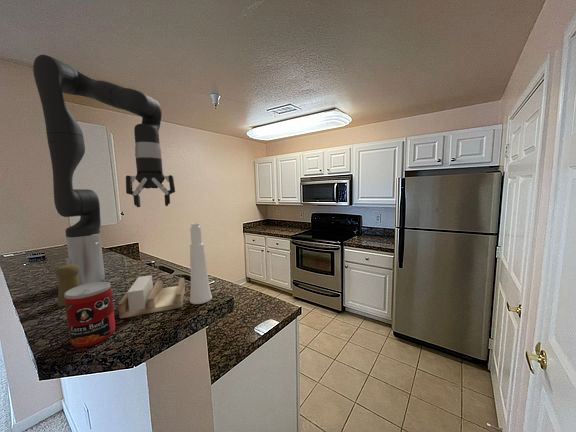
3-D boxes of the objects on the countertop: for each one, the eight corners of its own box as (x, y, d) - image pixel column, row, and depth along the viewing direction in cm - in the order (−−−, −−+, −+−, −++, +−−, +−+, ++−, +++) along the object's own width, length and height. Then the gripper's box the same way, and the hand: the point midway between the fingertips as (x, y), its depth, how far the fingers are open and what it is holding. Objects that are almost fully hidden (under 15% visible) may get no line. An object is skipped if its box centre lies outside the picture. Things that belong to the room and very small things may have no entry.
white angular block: (129, 311, 62) (127, 292, 61) (140, 293, 73) (138, 277, 73) (145, 308, 63) (143, 289, 63) (153, 291, 74) (151, 275, 74)
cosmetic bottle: (201, 293, 74) (196, 221, 72) (216, 297, 71) (211, 222, 69) (185, 302, 69) (178, 224, 67) (200, 306, 66) (193, 225, 64)
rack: (119, 318, 61) (118, 304, 60) (133, 296, 74) (132, 284, 74) (182, 307, 66) (180, 294, 65) (185, 288, 79) (184, 277, 78)
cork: (83, 295, 76) (79, 260, 75) (86, 301, 72) (81, 264, 71) (57, 302, 72) (52, 265, 71) (58, 308, 68) (52, 269, 67)
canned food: (64, 352, 48) (56, 299, 47) (79, 332, 55) (73, 285, 54) (110, 341, 51) (104, 291, 50) (119, 323, 58) (114, 279, 57)
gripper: (173, 159, 87) (177, 205, 89) (127, 158, 83) (131, 206, 84) (170, 156, 80) (174, 206, 82) (120, 155, 75) (125, 208, 77)
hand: (152, 206), depth 83 cm, fingers open, 8 cm apart
